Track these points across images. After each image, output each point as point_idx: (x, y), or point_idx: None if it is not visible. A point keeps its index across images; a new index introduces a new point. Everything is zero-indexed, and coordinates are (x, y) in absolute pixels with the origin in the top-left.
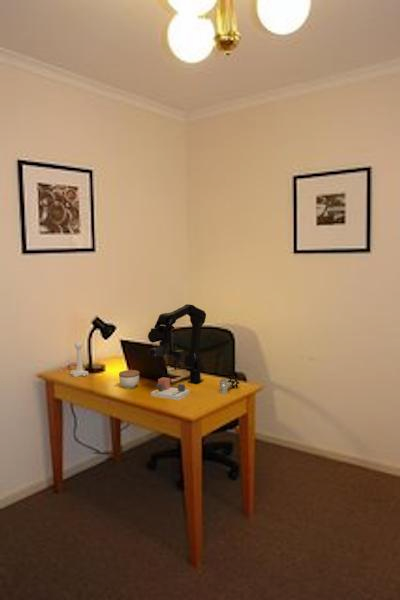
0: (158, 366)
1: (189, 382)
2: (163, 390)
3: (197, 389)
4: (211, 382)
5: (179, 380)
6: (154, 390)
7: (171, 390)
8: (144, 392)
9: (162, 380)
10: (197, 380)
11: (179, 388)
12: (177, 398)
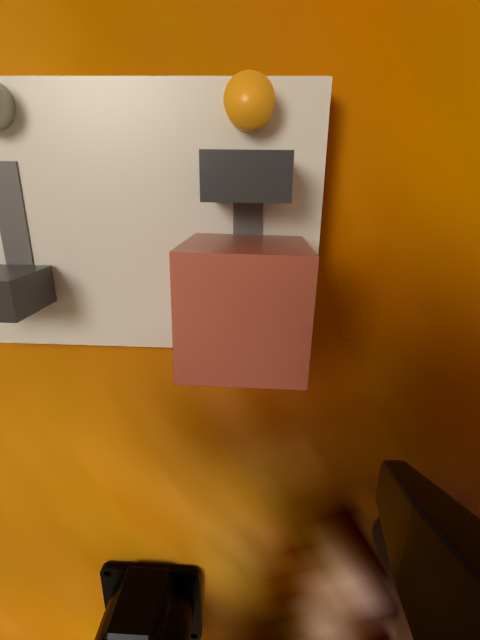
0: (438, 488)
1: (179, 567)
2: (216, 214)
3: (23, 452)
4: (40, 614)
5: (293, 592)
6: (321, 168)
7: (130, 251)
8: (461, 185)
9: (228, 251)
10: (112, 599)
11: (17, 271)
12: None
